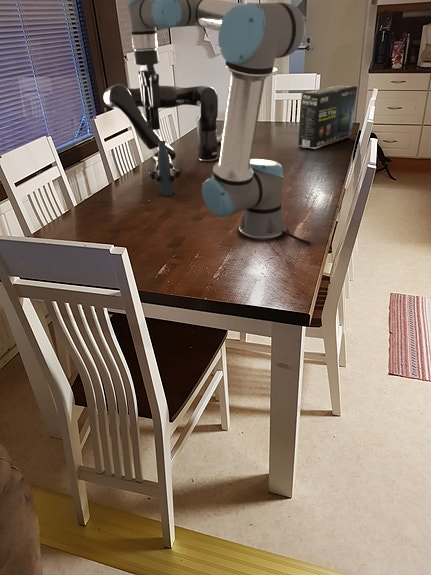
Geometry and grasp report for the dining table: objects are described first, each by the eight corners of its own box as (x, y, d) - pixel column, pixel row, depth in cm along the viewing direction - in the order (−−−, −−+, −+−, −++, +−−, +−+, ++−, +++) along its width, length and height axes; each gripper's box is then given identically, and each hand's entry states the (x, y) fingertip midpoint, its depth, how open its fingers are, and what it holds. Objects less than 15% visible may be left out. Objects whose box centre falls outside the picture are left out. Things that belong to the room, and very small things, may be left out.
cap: (145, 128, 153) (144, 121, 151) (150, 126, 156) (149, 119, 155) (156, 129, 152) (155, 121, 150) (161, 126, 155) (160, 119, 154)
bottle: (170, 190, 188) (166, 139, 177) (174, 194, 184) (169, 142, 173) (159, 192, 186) (154, 141, 176) (162, 196, 182) (157, 143, 172)
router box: (314, 151, 231) (318, 94, 217) (296, 148, 237) (299, 92, 224) (352, 138, 251) (358, 85, 238) (335, 135, 258) (340, 83, 245)
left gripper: (146, 159, 191) (145, 171, 177) (180, 156, 192) (183, 168, 178) (148, 176, 195) (148, 189, 181) (182, 174, 196) (184, 187, 182)
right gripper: (166, 50, 137) (173, 131, 149) (148, 47, 150) (155, 122, 162) (142, 52, 134) (151, 134, 146) (125, 49, 147) (134, 125, 159)
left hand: (165, 179), depth 179 cm, fingers closed on bottle, 4 cm apart
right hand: (153, 128), depth 154 cm, fingers closed on cap, 4 cm apart
